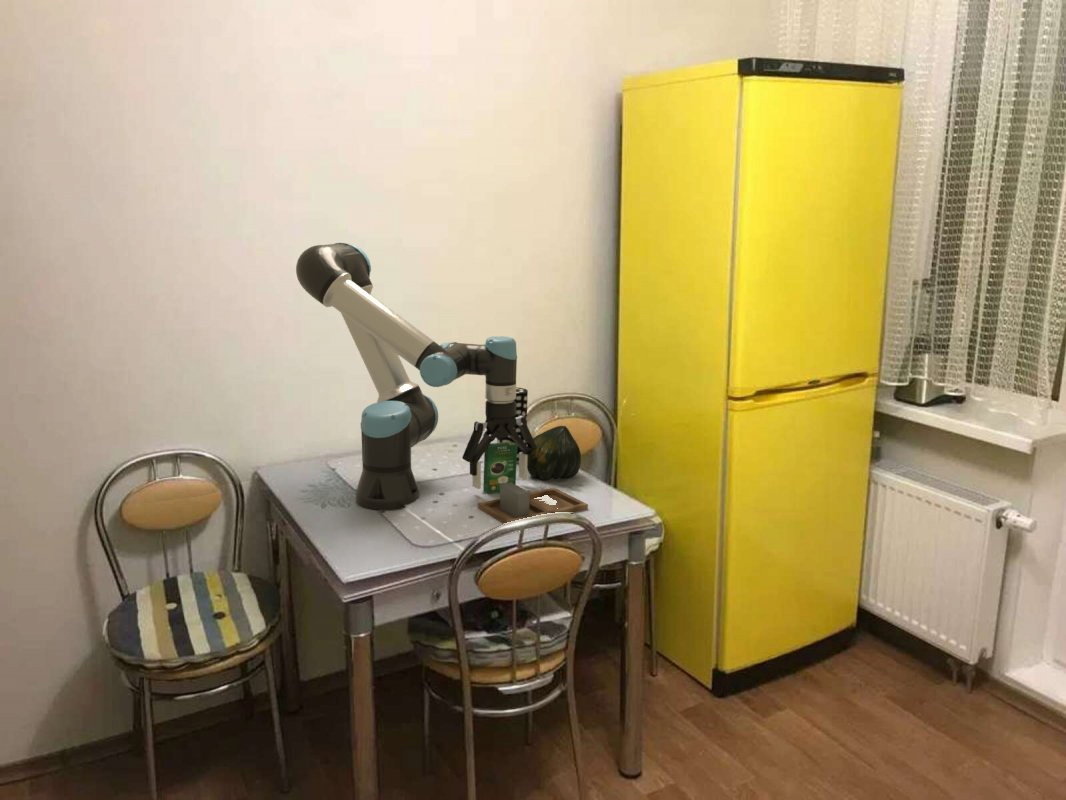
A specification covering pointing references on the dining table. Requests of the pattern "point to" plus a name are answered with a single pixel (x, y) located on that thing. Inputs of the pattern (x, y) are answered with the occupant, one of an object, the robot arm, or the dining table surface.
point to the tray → (536, 505)
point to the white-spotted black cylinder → (520, 410)
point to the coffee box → (499, 466)
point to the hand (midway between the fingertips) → (500, 482)
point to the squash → (555, 455)
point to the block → (514, 500)
